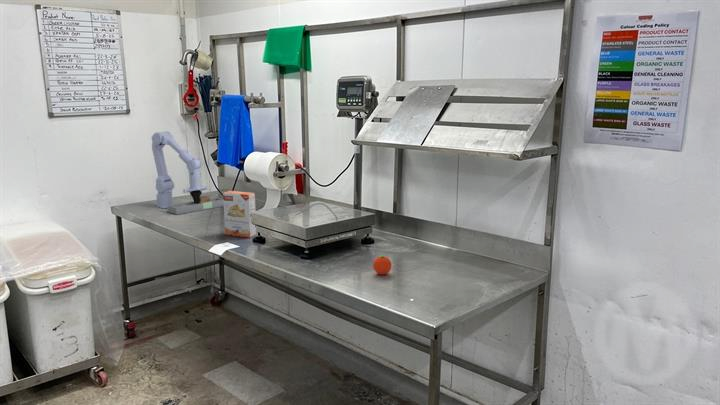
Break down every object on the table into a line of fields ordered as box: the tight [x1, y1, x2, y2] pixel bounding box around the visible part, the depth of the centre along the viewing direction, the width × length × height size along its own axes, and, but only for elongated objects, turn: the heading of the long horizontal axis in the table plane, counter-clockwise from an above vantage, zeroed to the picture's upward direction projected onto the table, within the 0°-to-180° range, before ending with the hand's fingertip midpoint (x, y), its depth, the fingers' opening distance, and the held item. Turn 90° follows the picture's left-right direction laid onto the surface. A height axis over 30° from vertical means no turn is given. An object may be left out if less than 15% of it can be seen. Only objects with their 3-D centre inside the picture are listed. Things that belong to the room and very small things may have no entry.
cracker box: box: [222, 190, 257, 239], centre depth 247 cm, size 14×6×21 cm, turn 70°
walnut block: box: [198, 195, 211, 204], centre depth 306 cm, size 5×6×4 cm
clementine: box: [372, 255, 392, 276], centre depth 196 cm, size 8×7×7 cm
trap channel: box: [166, 197, 224, 216], centre depth 304 cm, size 12×32×4 cm, turn 139°
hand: (196, 203), depth 303 cm, fingers closed
